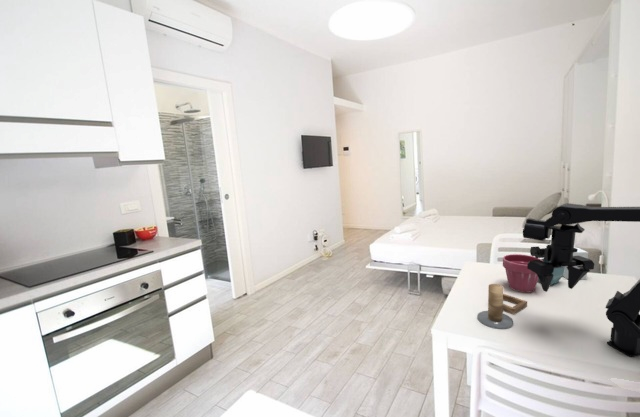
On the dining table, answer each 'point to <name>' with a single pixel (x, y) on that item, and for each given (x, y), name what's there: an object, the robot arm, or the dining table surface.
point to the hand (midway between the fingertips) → (557, 289)
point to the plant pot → (520, 272)
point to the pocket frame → (520, 303)
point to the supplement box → (578, 253)
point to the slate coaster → (504, 324)
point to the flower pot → (555, 273)
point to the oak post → (495, 302)
